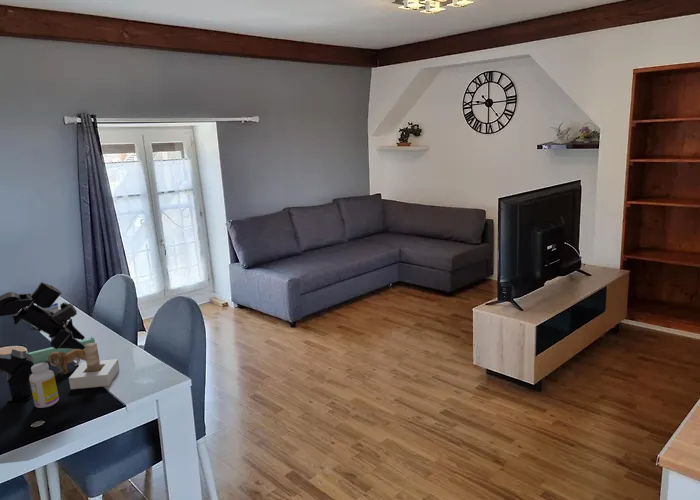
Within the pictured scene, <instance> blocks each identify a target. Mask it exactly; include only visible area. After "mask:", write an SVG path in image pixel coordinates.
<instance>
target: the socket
mask: <svg viewBox="0 0 700 500" xmlns="http://www.w3.org/2000/svg"><path fill="white" fill-rule="evenodd" d="M100 366H101V371H98V372H88V369H87V363H86V361H83V362H81V363H79V366H78V367H76V369H75V370H74V371H73V373H71V375H70V376H69V377H68V383H69V387H70V390H77V389H89V388H98V387H109V386H110V385H111V383H112V381H114V379H115V377H116V376H117V374H118V373H119V371H120V362H119V359H117V358H115V359H107V360H105V359H104V360H100Z"/></svg>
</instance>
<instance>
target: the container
mask: <svg viewBox="0 0 700 500" xmlns="http://www.w3.org/2000/svg"><path fill="white" fill-rule="evenodd" d="M78 341H79V342H80V343H82V344H83V345H86V344H89V343H96V341H95V337H94V336H93V335H92V336H90V337H89V338H86V339H85V338H84V339H83V340H80V339H79V340H78ZM72 350H74V349H69V348H60V349H59V348H58V349H55V348H53V347H51V346H50V347H46V348H42V349H39V350H35V351H30V352H27V353H28V354H30V355H31V356H32V357H33V360H34V365H35V364H38V363H44V362H45V363H49V361H48V356H49V355H50V353H52V352H63V353H69V352H71V351H72ZM83 350H84V349H83Z"/></svg>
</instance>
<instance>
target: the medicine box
mask: <svg viewBox="0 0 700 500" xmlns="http://www.w3.org/2000/svg"><path fill="white" fill-rule="evenodd" d="M36 306H38V305H37V304H36ZM38 307H39V308H41V309H43V310H45V311H47V312H48V313H49V312H51V311H52V312H54V313H56V312H57V311H58V310H59V309H60V308H59V303H58V302H54V303H53V304H52V305H51V307H47V308H42V307H40V306H38Z"/></svg>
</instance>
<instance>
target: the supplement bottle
mask: <svg viewBox="0 0 700 500" xmlns="http://www.w3.org/2000/svg"><path fill="white" fill-rule="evenodd" d="M49 368H50V364H49V362H44V363H38V364H35V365H33V366H32V367H31V371H32V373H31V374H30V375H29V380H30V385H31V389H32V394H33V396H32V398H33V399H32V400H33V403H34V406H35V407H36V408H38V409H39V408H40V409H41V408H42V409H43V408H49V407H51V406H54V405H55V404H57V403H58V402H59V399H60V397H59V391H58V387H57V382H56V377H55V372H54V371H53V370H51V369H49Z"/></svg>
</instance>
